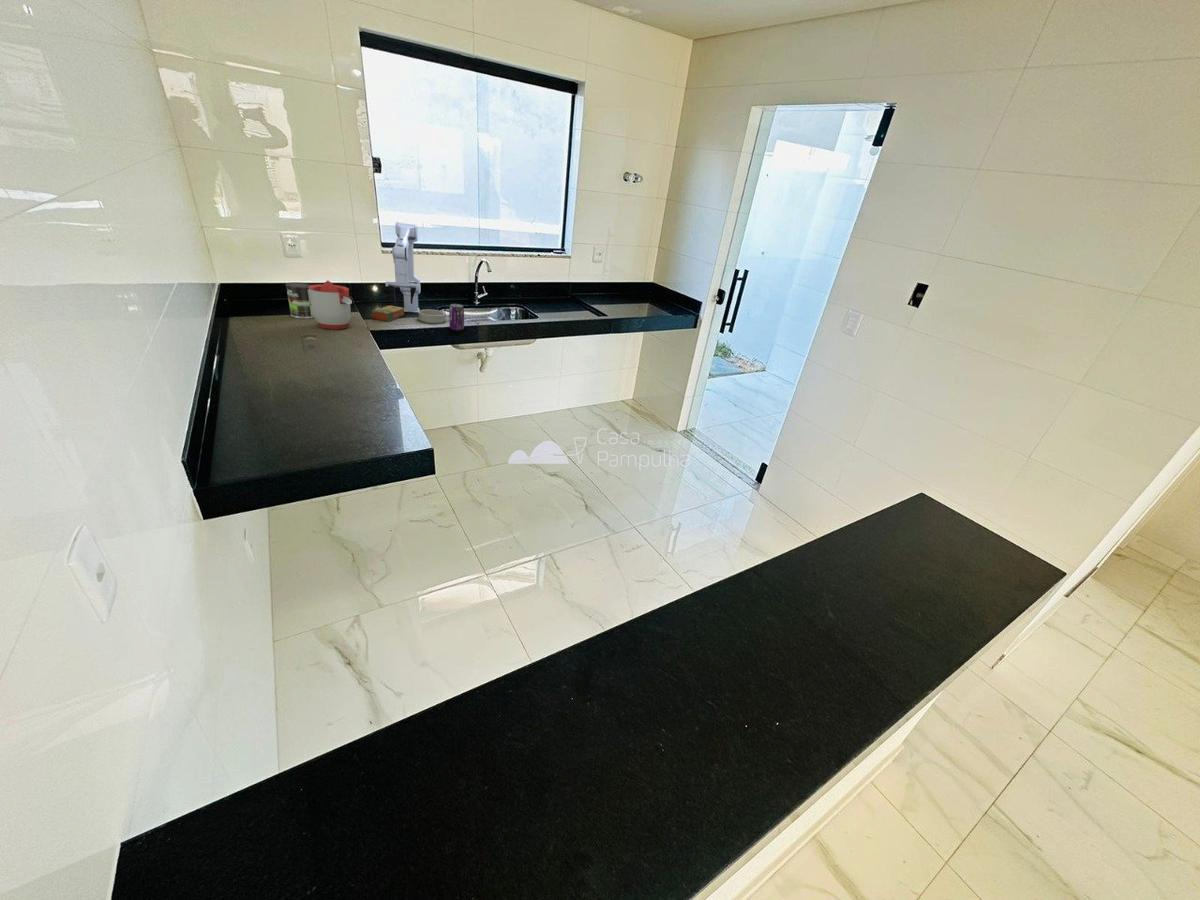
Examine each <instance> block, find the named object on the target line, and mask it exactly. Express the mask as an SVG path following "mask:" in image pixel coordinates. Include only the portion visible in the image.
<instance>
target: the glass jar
mask: <svg viewBox="0 0 1200 900" xmlns="http://www.w3.org/2000/svg"><path fill="white" fill-rule="evenodd" d="M311 285H312V284H310V283H307V282H287V283H285V288H286V292H287V293H286V294H287V299H288V306H289V312H290V317H292V318H295V319H313V318H314V319H315V317H314V314H313V311H312V306H311V299H310V292H309V288H308V287H309V286H311Z"/></svg>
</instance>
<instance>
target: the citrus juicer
mask: <svg viewBox="0 0 1200 900" xmlns="http://www.w3.org/2000/svg"><path fill="white" fill-rule="evenodd" d="M310 285H311V286H309V287H308V288H309V292H310V299H311V306H312V311H313V314H314V320H315V322H316V324H317V325H318V326H319V327H320V328H321V329H322V328H323V329H327V330H333V331H334V330H335V331H337V330H343V329H347V328H348V327H349V325H350V321H351V315H352V313H351V312H352V311H351V305H352V303H353V301H352V299H351V298H350V289H349V288H348V287H346V286H343V285H337V284H334V283H332V282H331V281H330V280H326V281H325V282H324V283H322V284H321V283H320V284H319V283H317V284H310Z"/></svg>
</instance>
